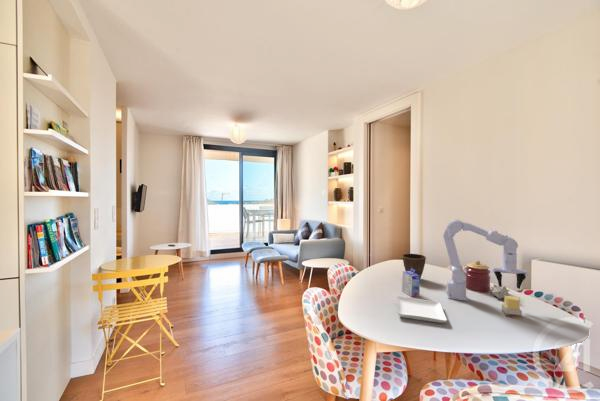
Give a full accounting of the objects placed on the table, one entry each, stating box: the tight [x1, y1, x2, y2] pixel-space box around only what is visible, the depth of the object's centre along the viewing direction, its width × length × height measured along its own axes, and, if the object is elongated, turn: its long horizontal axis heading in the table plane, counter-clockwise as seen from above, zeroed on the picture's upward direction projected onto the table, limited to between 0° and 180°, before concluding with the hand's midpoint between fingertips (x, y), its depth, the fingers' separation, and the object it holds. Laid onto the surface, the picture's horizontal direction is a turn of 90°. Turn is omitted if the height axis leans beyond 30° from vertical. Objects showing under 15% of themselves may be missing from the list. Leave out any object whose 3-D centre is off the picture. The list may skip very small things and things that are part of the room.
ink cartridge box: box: [401, 268, 421, 298], centre depth 153 cm, size 10×6×14 cm, turn 12°
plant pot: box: [401, 253, 427, 279], centre depth 179 cm, size 15×15×16 cm
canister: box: [464, 260, 491, 293], centre depth 160 cm, size 13×13×18 cm
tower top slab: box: [501, 303, 523, 316], centre depth 126 cm, size 6×6×2 cm
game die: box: [489, 284, 510, 301], centre depth 145 cm, size 9×8×10 cm
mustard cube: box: [503, 295, 521, 310], centre depth 125 cm, size 4×4×4 cm
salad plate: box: [396, 296, 448, 324], centre depth 128 cm, size 21×21×3 cm
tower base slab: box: [501, 308, 523, 320], centre depth 126 cm, size 6×6×2 cm
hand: (509, 287), depth 134 cm, fingers open, 7 cm apart
